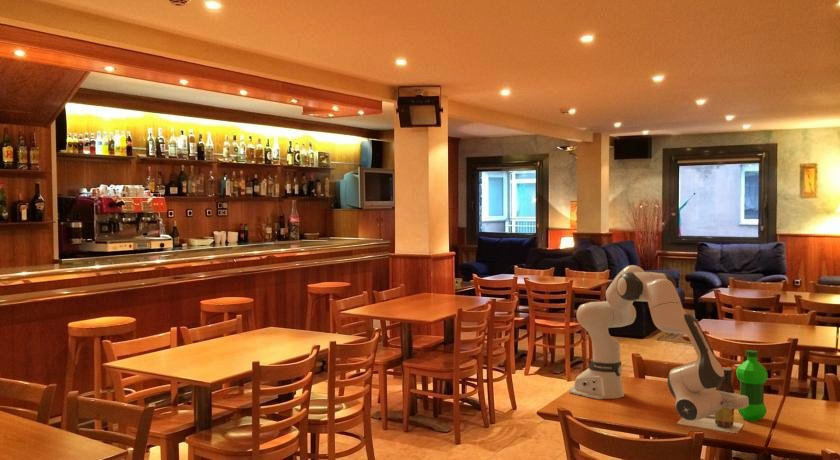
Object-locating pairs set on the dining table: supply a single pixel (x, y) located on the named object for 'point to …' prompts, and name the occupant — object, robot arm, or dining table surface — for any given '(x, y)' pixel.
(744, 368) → the plastic bottle
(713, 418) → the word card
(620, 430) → the dining table surface
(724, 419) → the sauce bottle
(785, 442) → the dining table surface
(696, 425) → the paper
